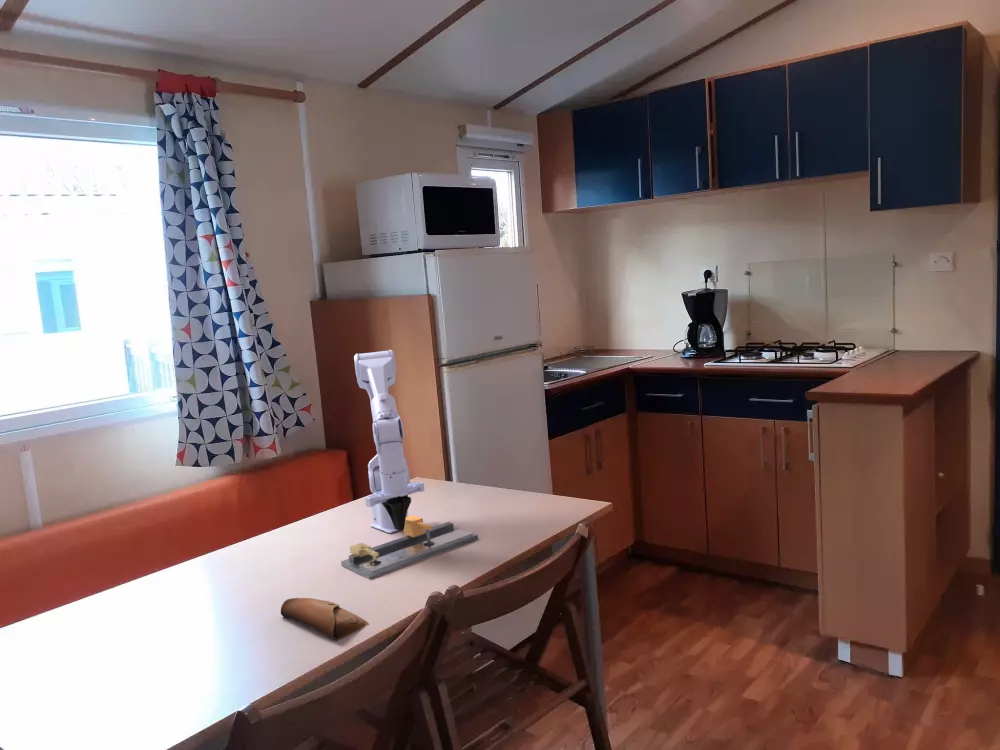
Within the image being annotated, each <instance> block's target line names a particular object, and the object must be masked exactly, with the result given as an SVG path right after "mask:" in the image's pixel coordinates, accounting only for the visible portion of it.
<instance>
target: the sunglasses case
mask: <svg viewBox="0 0 1000 750" xmlns="http://www.w3.org/2000/svg"><path fill="white" fill-rule="evenodd" d="M280 614H281V616H282V617H283V618H286V619H289V620H293V621H295V622H299V623H301V624H303V625H305V626H306V627H309V628H312V629H314V630H315V631H317V632H320V633H322V634H324V635H326V636H328V637H329V638H332V639H334V640H336V641H339V640H341V639H344V638H345V637H347V636H349V635H352V634H353V633H355V632H357V631H359V630H361V629H363V628H364V627H366V626H368V625H370V623H369V622H368V621H367V620H365V619H364V618H362V617H361V616H359V615H357V614H355V613H353V612H351V611H349V610H347V609H345V608H342V607H340V604H337V603H336V602H332V601H330V600H323V599H318V598H317V599H316V598H313V597H309V598H308V597H294V598H287V599H285V601H283V602H282V604H281V606H280Z"/></svg>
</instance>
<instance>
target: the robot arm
mask: <svg viewBox="0 0 1000 750" xmlns="http://www.w3.org/2000/svg"><path fill="white" fill-rule="evenodd" d="M353 360H354V369H355V376H356V381H357V384H358V386H359V388H360V389H363V390H366V393H367V394H368V397H369V400H370V409H371V416H372V434H373V435H372V436H373V442H374V444H375V447H376V448H375V449H376V455H374V457H372V459H370V461H369V462H368V464H367V468H368V472H367V473H368V480H369V481H368V482H369V489H370V492H371V493H372V494H370V495H368V496H365V497H364V502H365V506H366V507H369V508H371V514H372V523H371V524H370V527H372V528H374V529H377V530H380V531H382V532H385V533H387V534H392V533H396V532H399V531H404V530H403V529H404V526H405V519H406V517H408V516H409V507H410V505H411V503H412V497H411V496H408V495H412V494H415V493H419V492H420V493H422V492H425V483H424V482H422V481H417V482H412V483H411V479H410V477H411V476H410V470H409V466H408V463H407V462H408V460H407V459H406V457H405V454H404V445H403V443H404V438H405V434H404V425H403V421H402V419H401V417H400V414H399V413H398V409H397V404H396V399H395V398H394V396H393V395H391V394H390V393H389V387H390V386H392V385H394V384H396V383H395V382H396V378H397V377H396V373H397V363H396V356H395V353H394V351H393V350H392V349H389V350H381V351H375V352H374V351H373V352H365V353H355V355H354V356H353Z"/></svg>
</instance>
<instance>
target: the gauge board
mask: <svg viewBox="0 0 1000 750" xmlns="http://www.w3.org/2000/svg"><path fill="white" fill-rule="evenodd" d="M429 531H430V540H431V542H430V543H428V542H427V533H426V529H424V534H422V535H419V536H416V537H411V536H408V535H405V536H402V537H400V538H397V539H393V540H391V541H387V542H384V543H382V544H379V545H376V546H373V547H371V546H370V545H368V544H365V543H363V542H360V543H357V544H354V545H351V546H349V552H350V555H349V554H348V559H344V560H341V561H340V562H341V563H340V565H341V567H343V568H346V569H348V570H349V571H352V572H354V573H355V574H358V575H360V576H362V577H364V578H365V579H368V580H371V579H372V578H376V577H378V576H381V575H384V574H386V573H387V574H388V573H389V572H392V571H395V570H397V569H400V567H401V568H403V567H406V566H408V565H411V564H414V563H417V562H420V561H423V560H425V559H427V558H431V557H434V556H436V555H438V554H441V553H444V552H447V551H449V550H453V549H455V548H457V547H460V546H461V547H462V546H463V545H465V544H468V543H471V542H474V541H476V540H478V539H479V535H478V534H476V533H473V532H470V531H468V530H467V531H466V530H464V529H461V528H458V527H455V526H454V523H453V522H451V521H446V522H443V523H441V524H437V525H434V526H432V529H430V530H429Z"/></svg>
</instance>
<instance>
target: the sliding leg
mask: <svg viewBox="0 0 1000 750" xmlns="http://www.w3.org/2000/svg"><path fill="white" fill-rule="evenodd" d="M432 527H433V526H432V525H429V524H427V523H425V522H424V519H423V517H420V516H418V515H413V514H412V515H408V517H406V519H405V526H404V529H403V530H402V531H403V534H404V535H405V536H411V537H416V536H419V535H422V534H424V530H426V533H427V542H428V543H430V542H431V540H430V531H429V530H430V529H432Z"/></svg>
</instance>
